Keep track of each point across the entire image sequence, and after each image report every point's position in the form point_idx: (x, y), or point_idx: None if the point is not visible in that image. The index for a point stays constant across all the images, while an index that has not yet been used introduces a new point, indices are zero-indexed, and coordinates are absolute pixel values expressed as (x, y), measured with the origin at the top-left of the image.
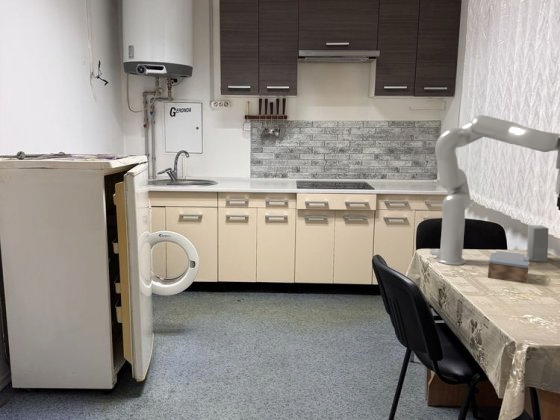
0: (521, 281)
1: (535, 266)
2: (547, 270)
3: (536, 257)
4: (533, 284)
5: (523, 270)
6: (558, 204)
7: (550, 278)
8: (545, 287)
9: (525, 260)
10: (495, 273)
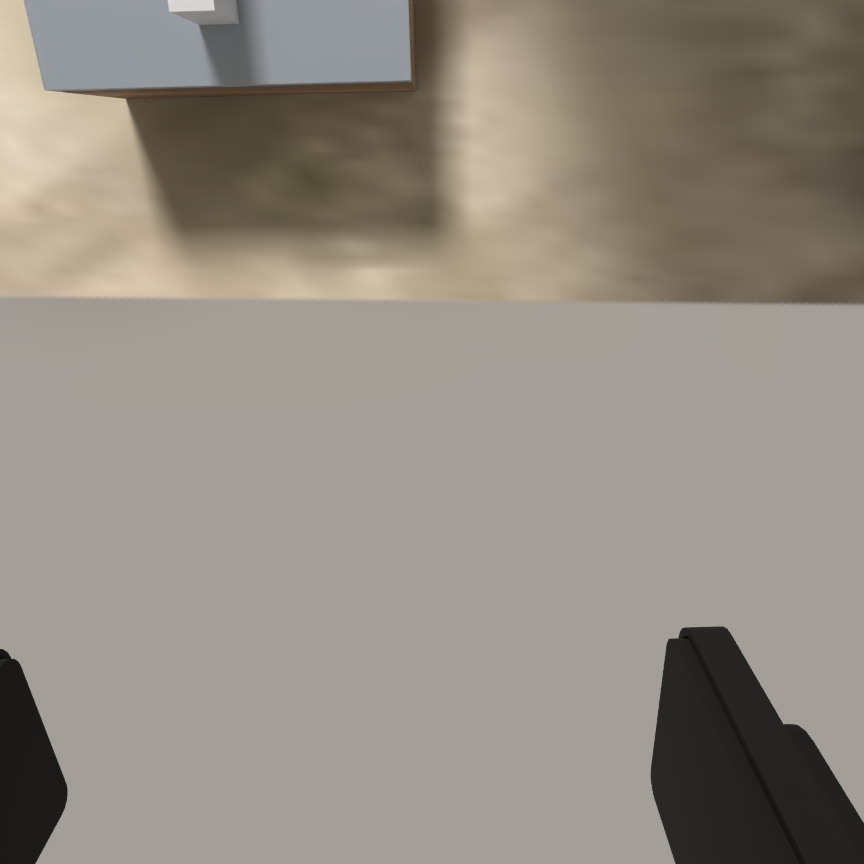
0: None
1: (706, 150)
2: (616, 246)
3: None
4: (144, 150)
5: None
6: (684, 700)
7: (390, 267)
8: (129, 235)
9: (238, 47)
10: None
